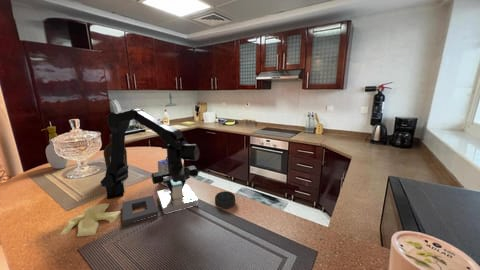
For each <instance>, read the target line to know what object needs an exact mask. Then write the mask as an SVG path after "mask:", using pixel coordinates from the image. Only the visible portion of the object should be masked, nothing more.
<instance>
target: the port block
mask: <svg viewBox="0 0 480 270" xmlns="http://www.w3.org/2000/svg"><path fill="white" fill-rule="evenodd" d="M156 192H157V199H158V202H159V205H160V207H161V210H163V211H162V214H163V213H164V214H165V213H168V212H172V211H175V210H179V209H184V208H187V207H190V206H194V205H198V206H199V199H198V197H197V196H196V195H195V193H194V191H192V189H191V187H190V186H189V185H188V184H184V187H183V198H181V199H177V200H172V198H171V192H170V189H169V188H165V189H162V190H157V191H156ZM164 214H163V215H164Z"/></svg>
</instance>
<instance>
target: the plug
mask: <svg viewBox="0 0 480 270" xmlns="http://www.w3.org/2000/svg"><path fill="white" fill-rule="evenodd" d="M170 181H171V187H172V194H171V199H172V201H173V200H177V199H181V198H183V186H182V182H181V181H178V182H173V180H170Z"/></svg>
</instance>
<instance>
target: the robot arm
mask: <svg viewBox="0 0 480 270" xmlns="http://www.w3.org/2000/svg"><path fill="white" fill-rule="evenodd" d="M106 120H107V126H108V129H109V130H110V131H111V134H112V142H111V163H110V164H109V166H108V168H106V170H105V174H104V175H105V176H104V177H103V179H101V181H100V185H101V186H102V187H105V191H106V199H107V200H111V199H114V198H119V197H123V196H124V193H125V183H124V182H123V181H124V180H126V179H125V176H126V175H127V173H128V174H129V165H128V164H127V165H125V163H124V147H125V140H126V132H127V130H128V128H129V127H130V123H131V121H133V120H134V121H136V122H137V123H140V124H141V125H143V126H144V127H146V128H147V129H149V130H150V131H152V132H154V133H155V134H157V135H158V137H159V138H160V140H162V141H163V142H164V145H162V147H161V149H162V150H163V149H164V150H166V158H167V160H168V173H165V174H162V172H158V171H157V172H155V171H154V172H152V173H151V181H152V183H153V185H157V184H161V183H162V182H163V183H164V184H165V183H166V184H167V185H168V187H167V188H168V189H170V192H171V194H172V187H171V181H170V179H169V177H172V179H173V182H178V181H181V182H182V186H183V187H184V185H186V182H187V180H189V179H190V178H191V177H195V176H198V175H199V169H198V168H197V167H196V166H195V165H189V166H186V167H184V166H183V161H195V162H197V161H198V160H199V158H200V148H199V147H198V144H196V143H191V144H190V143H188V140H187V139H186V138H185V136H184V135H183V132H182V131H181V129H179V128H177V127H174V126H170V125H168V124H167V125H166V124H164V123H162V122H161V121H159V120H158V119H156V118H154V117H152V116H151V115H149V114H148V113H146V112H145V111H143V110H142V109H141V108H133V109H130V110H126V111H124V110H122V111H115V112H110V113H109V114H107V118H106ZM182 160H183V161H182Z"/></svg>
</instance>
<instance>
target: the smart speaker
mask: <svg viewBox="0 0 480 270" xmlns="http://www.w3.org/2000/svg"><path fill="white" fill-rule="evenodd" d="M214 204H215V206H216V207H217V206H218V207H217V208H219V207H220V208H219V209H230V208H232V207H234V206H235V204H236V195H235V194H234V193H233V192H231V191H226V190H225V191H221V192H218V193H216V194H215V197H214Z"/></svg>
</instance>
